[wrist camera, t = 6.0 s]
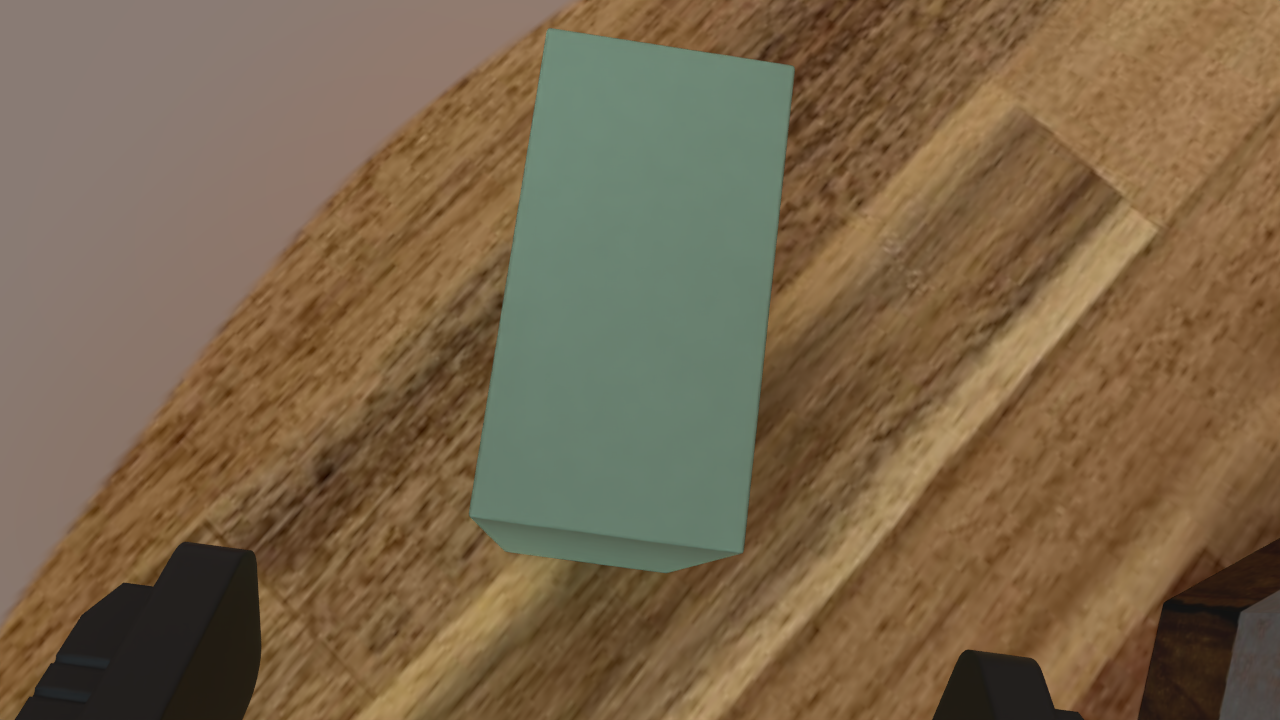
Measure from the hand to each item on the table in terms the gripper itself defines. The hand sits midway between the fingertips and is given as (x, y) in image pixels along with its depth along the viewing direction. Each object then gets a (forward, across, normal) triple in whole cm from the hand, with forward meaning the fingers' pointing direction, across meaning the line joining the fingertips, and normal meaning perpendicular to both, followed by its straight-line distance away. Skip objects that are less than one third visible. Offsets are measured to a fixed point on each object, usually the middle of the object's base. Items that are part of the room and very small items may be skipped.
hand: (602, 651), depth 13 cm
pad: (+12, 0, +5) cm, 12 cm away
